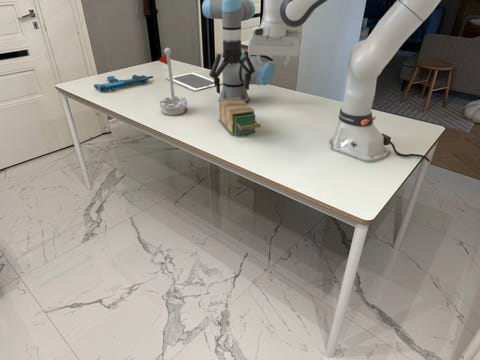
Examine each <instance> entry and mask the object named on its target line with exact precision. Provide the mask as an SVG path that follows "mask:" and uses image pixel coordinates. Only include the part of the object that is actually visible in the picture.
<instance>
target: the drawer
mask: <svg viewBox="0 0 480 360" xmlns="http://www.w3.org/2000/svg"><path fill="white" fill-rule="evenodd" d="M260 127H262V125H261V123H260V122H258V121H257V120H256V114H255V113H254V114H251V113H245V114H239V115H234V131H235V135H234V136H240V135H246V134H251V133H255V132H256V129H257V128H260Z"/></svg>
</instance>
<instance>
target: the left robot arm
mask: <svg viewBox="0 0 480 360" xmlns="http://www.w3.org/2000/svg"><path fill="white" fill-rule="evenodd" d="M263 2H264V3H265V0H263ZM201 9H202V14H203V16H204V17H205V18H206V19H212V20H221V21H222V40H223V41H222V53H219V52H216V53H215V59H214V62H213V64H212V66H211V69H210V71H209V75H208V76H210V78H211V79H212V78H213V80H214V85H215V86H214V87H216V89H215V91H216V93H217V94H219V100H226V99H233V98H241V99H242V100H243V101H244V102H245V103H247V102H249V93H248V92H247V91H248V90H250V85H256V86H268V85H269V84H270V83H271V82H272V80H273V78H274V75H275V72H276V64H275V62H274V58H273V56H268V55H260V60H261V61H263V67H259V62H258V60H257V55H249V53H248V50H245V49H244V50H243V51H242V22H245V21H248V20H250V19H252V18H253V17H254V15H255V13H256V7H255V4H254V2H253V1H252V0H203V2H202V5H201ZM264 17H265V9H264V8H263V14H262V18H261V21H260V25H262V24H264ZM220 62H221V63H220ZM219 64H220V65H219ZM221 74H222V88H221V84H220V83H221V80H220V79H221V78H220V75H221Z"/></svg>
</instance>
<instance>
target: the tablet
mask: <svg viewBox="0 0 480 360" xmlns="http://www.w3.org/2000/svg"><path fill="white" fill-rule="evenodd" d="M172 79H173V83H175V84H178V85H179V86H182V87H185V88H187V89H189V90H192V91H194V92H197V91H200V90H204V89H208V88H212V87H216V86H215V85H214V79H212V78H210V77H207V76H203V75H201V74H199V73H196V72H193V71H192V72H188V73H183V74H179V75H178V74H177V75H173V76H172ZM166 80H168V81H169V77H166ZM220 85H223V82H220Z"/></svg>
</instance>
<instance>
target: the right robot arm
mask: <svg viewBox="0 0 480 360" xmlns="http://www.w3.org/2000/svg"><path fill="white" fill-rule="evenodd" d="M327 1H328V0H265V2H264V5H263V10H264V9H265V17H264V24H262V25H261V24H259V25H256V26H253V27H252V29H251V34H250V37H249V40H248V45H247V51H248V54H249V56H250V55H257V60H258V62H259V67H263V61H261V60H260V55H268V56H271V57H285V58H286V60H285V61H282V68H285V69H286V68H287V66H288V65H287V64H288V63H289V61H291V60H290V59H291V57H298V56H300V51H301V46H300V45H301V42H302V39H303V34H302V32H301V31H299V30H298V29H295V30H291V29H288V28H287V27H290V28H297V27H301V26H302V25H304V23H305V22H306V21H307V20H308V19H309V18H310V17H311V16H312V15H313V13H314V11H315V10H316V9H317V8H319V7H321V5H323V4H324V3H326V2H327ZM441 1H442V0H396V1H395V2H394V3H393V5H392V6H391V7H389V9H387V11H386V12H385V14H384V15H383V16H382V17H381V18H380V19H379V20H378V22H377V24H376V25H375V26H374V28H373V29H372V30H371V33H369V35H367V38H366V39H363V40H360V41H358V42H357V43H355V44H354V45H353V47H352V48H351V50H350V52H349V57H348V63H347V70H346V78H345V83H344V84H345V85H344V91H343V98H342V103H341V108H340V109H339V113H338V122H337V123H338V124H337V127H336V130H335V132H334V135H333V137H332V139H331V144H332V149H333V150H334V151H336V152H340V153H343V154H344V155H345V154H346V155H348V156H351V157H354V158H356V159H359V160H361V161H365V162H374V161H379V160H381V159H383V158H385V157H387V155H388V154H389V152H390V150H389V148H387V147H386V146H389V145H391V147H392V149H393V152H394V153H395V154H396V155H397V156H400V157H404V158H406V157H419V158H423V159H425V160H426V161H427V162H428V163H431V160H430V158H429V157H428V156H426V155H423V154H419V153H406V154H405V153H401V152H399V151H397V149H396V146H395V144H394V142H392V141H391V139H392V137H391V136H389V135H387V134H384V133H381V131H379V128H377V126H376V125H375V124H374V121H375V120H376V119H377V116H373V113H372V109H373V104H374V100H375V95H376V88H377V80H378V77H379V76H380V75H381V74H382V72H383V71H384V69H385V67H386V66H387V65H388V64H389V63H390V62H391V60H392V59H393V58H394V56H395V55H396V53H397V52H398V51H399V49H400V48H401V47H402V46H403V45H404V43H405V42H406V41H407V40H408V38H410V37H411V35H412V34H413V33H415V31H416V30H417V29H418V28H419V27H420V26H421V25H422V24H423V23H424V22H425V21H426V20H427V19H428V17H429V16H430V15H431V14H432V13H433V12H434V11H435V9H436V8H437V6H438V5H439V4H440V2H441Z"/></svg>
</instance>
